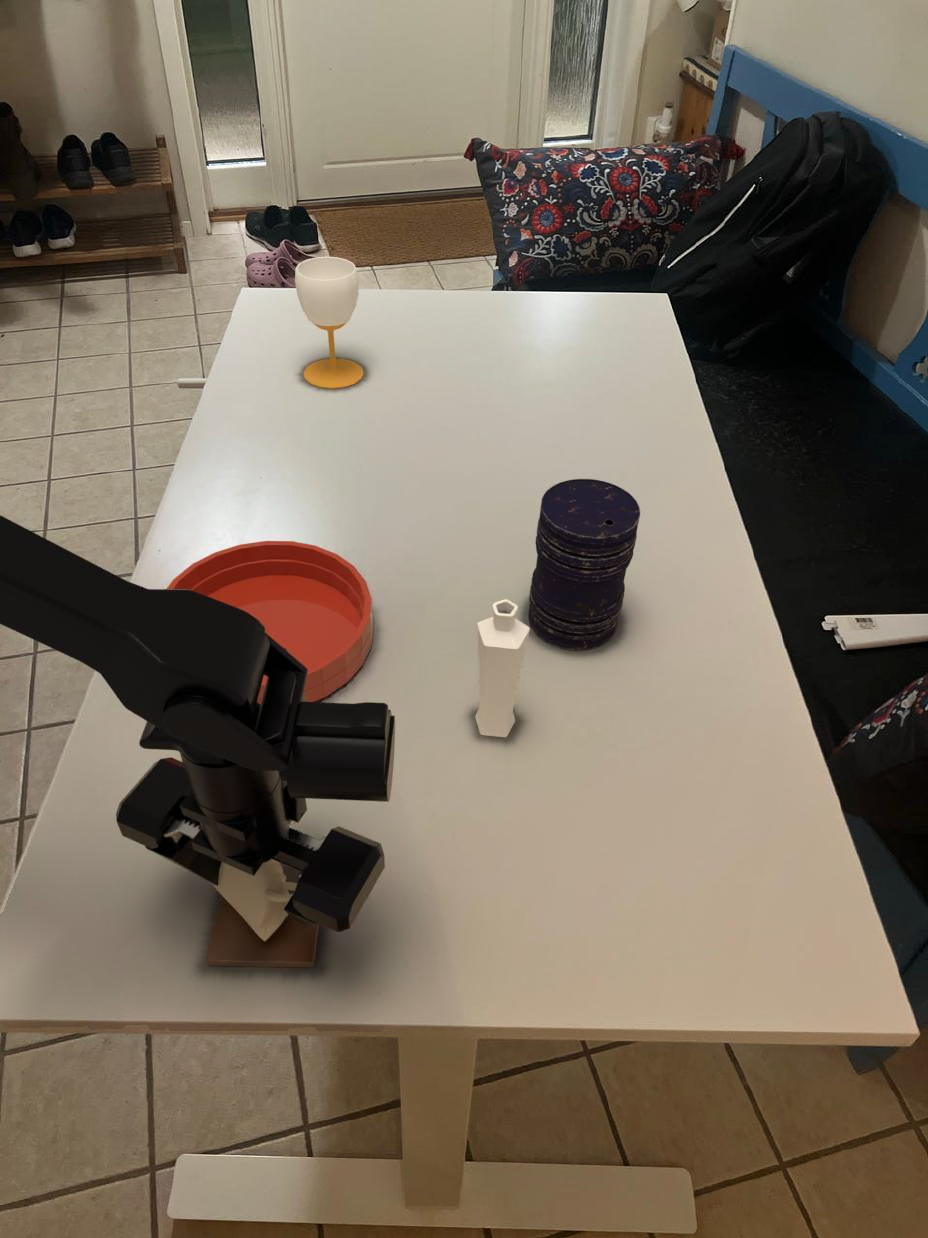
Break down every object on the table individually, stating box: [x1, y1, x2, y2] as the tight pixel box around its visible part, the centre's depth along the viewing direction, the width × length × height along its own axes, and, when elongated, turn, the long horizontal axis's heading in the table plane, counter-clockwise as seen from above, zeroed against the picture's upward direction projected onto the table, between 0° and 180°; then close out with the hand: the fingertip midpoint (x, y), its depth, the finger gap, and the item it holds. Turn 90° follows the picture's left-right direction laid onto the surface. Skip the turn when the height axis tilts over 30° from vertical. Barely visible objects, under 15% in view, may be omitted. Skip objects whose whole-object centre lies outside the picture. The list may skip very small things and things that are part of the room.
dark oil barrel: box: [527, 478, 641, 651], centre depth 91 cm, size 10×10×15 cm
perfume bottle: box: [475, 598, 531, 738], centre depth 80 cm, size 5×4×15 cm
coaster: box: [205, 867, 320, 968], centre depth 70 cm, size 8×8×1 cm
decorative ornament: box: [212, 859, 297, 941], centre depth 67 cm, size 4×8×5 cm, turn 45°
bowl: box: [166, 540, 374, 705], centre depth 91 cm, size 21×21×4 cm
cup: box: [294, 256, 365, 390], centre depth 129 cm, size 9×9×16 cm
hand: (263, 899), depth 68 cm, fingers closed on decorative ornament, 7 cm apart
